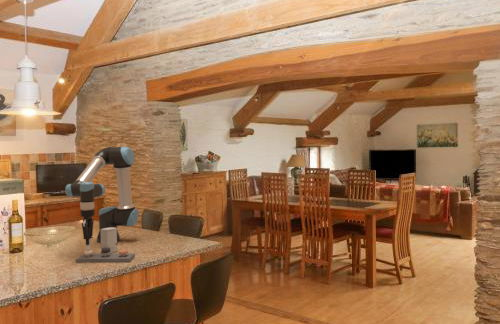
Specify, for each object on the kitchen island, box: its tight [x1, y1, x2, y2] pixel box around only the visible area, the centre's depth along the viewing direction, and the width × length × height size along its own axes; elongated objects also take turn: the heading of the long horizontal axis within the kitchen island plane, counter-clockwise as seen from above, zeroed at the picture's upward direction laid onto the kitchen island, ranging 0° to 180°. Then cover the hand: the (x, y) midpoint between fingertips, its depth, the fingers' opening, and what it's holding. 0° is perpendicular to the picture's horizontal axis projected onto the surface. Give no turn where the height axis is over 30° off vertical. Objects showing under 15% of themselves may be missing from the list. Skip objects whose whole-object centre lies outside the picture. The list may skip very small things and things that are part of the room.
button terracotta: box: [118, 248, 129, 257], centre depth 262 cm, size 5×5×5 cm
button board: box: [75, 252, 136, 264], centre depth 263 cm, size 12×30×2 cm, turn 89°
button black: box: [100, 247, 110, 257], centre depth 262 cm, size 5×5×5 cm
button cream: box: [83, 249, 94, 257], centre depth 263 cm, size 5×5×5 cm
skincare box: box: [100, 227, 118, 254], centre depth 280 cm, size 8×6×15 cm
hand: (88, 250), depth 262 cm, fingers closed
